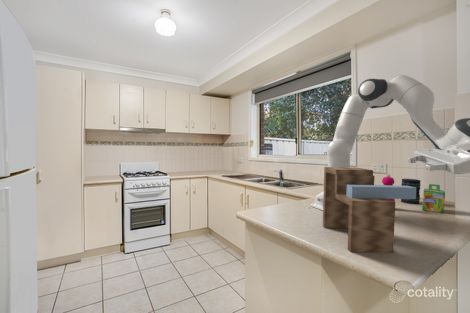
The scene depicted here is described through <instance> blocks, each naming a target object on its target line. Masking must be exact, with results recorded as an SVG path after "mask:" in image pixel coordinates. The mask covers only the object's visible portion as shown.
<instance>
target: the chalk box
mask: <svg viewBox="0 0 470 313" xmlns="http://www.w3.org/2000/svg"><path fill="white" fill-rule="evenodd" d="M433 187H436V188H433ZM440 188H441V185H440V184H432V183H429V184H428V188H424V189H423V193H422V195H423V197H422V208H421V209H422V211H426V212H432V213H437V214H438V213H439V214H444V210H445V200H446V191H445V190H442V189H440Z"/></svg>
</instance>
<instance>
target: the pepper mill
mask: <svg viewBox="0 0 470 313" xmlns="http://www.w3.org/2000/svg"><path fill="white" fill-rule="evenodd" d="M381 183H382V184H383V185H393V186H394V184H395V179H394V178H393V177H392V176H391V175H390V174H389V173H388V174H387V173H386V176H385V177H382V180H381ZM389 200H392V201H395V200H396V199H389ZM395 202H396V201H395Z"/></svg>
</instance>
